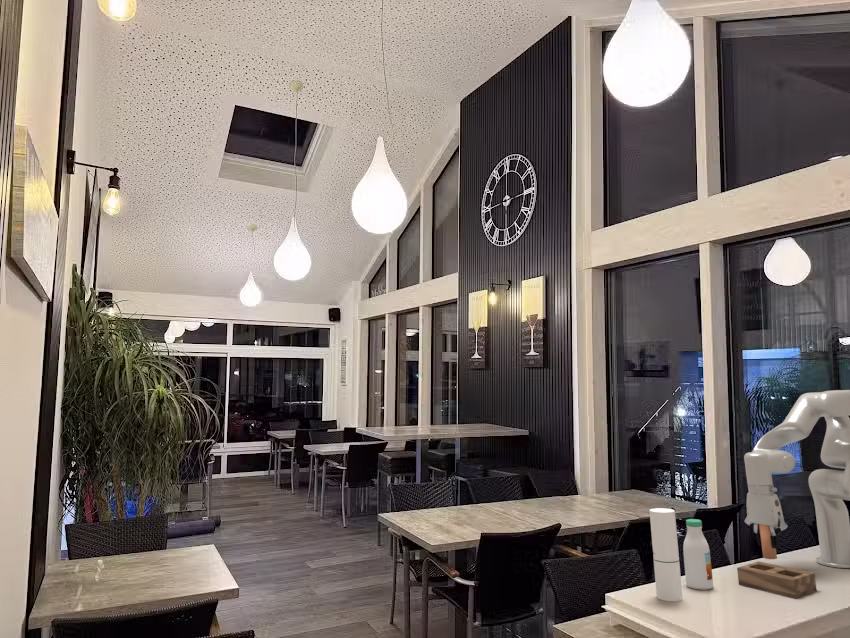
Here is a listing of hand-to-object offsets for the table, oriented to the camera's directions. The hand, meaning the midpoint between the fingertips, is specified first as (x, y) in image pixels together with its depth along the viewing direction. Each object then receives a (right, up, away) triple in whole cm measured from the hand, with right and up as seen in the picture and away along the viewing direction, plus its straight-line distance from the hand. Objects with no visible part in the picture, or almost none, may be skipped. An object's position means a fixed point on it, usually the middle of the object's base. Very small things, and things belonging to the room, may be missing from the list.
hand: (768, 545), depth 200 cm
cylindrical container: (-42, -7, -22) cm, 48 cm away
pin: (0, -4, 0) cm, 4 cm away
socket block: (-7, -7, -16) cm, 19 cm away
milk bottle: (-29, -8, -13) cm, 32 cm away
